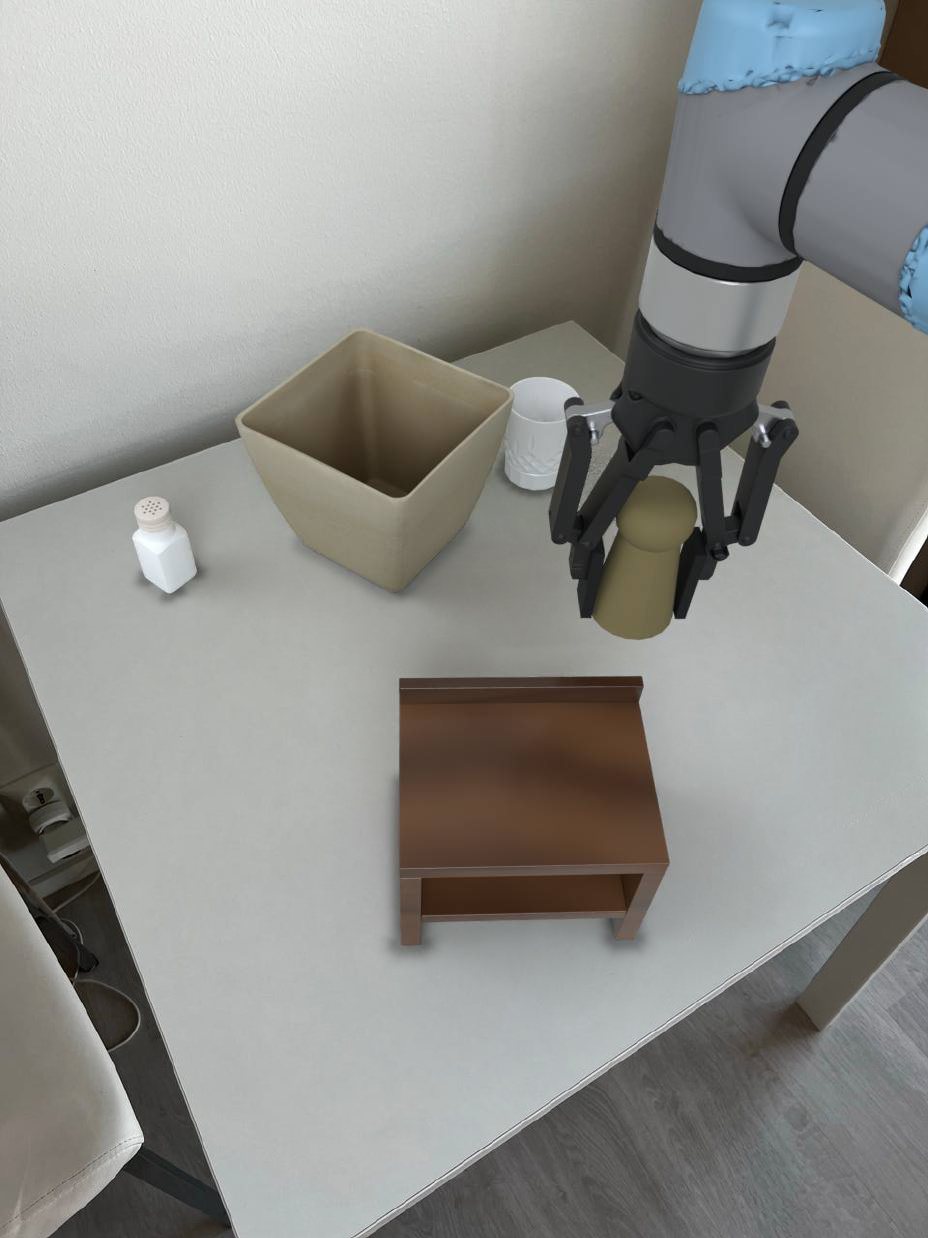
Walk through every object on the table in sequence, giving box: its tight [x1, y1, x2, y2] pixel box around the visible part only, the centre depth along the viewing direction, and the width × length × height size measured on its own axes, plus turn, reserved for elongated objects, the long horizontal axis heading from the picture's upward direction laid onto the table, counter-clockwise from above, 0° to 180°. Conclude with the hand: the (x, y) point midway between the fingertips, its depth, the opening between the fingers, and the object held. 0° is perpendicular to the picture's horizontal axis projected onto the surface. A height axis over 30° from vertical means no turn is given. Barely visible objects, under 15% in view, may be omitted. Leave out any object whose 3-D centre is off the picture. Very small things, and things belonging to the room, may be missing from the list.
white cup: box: [503, 376, 581, 491], centre depth 104 cm, size 8×8×10 cm
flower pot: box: [234, 326, 515, 593], centre depth 94 cm, size 19×19×17 cm
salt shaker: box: [131, 496, 198, 594], centre depth 91 cm, size 4×4×10 cm
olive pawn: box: [591, 474, 698, 641], centre depth 64 cm, size 6×6×11 cm
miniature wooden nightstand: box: [398, 675, 671, 946], centre depth 71 cm, size 14×18×16 cm
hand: (630, 603), depth 68 cm, fingers closed on olive pawn, 6 cm apart
